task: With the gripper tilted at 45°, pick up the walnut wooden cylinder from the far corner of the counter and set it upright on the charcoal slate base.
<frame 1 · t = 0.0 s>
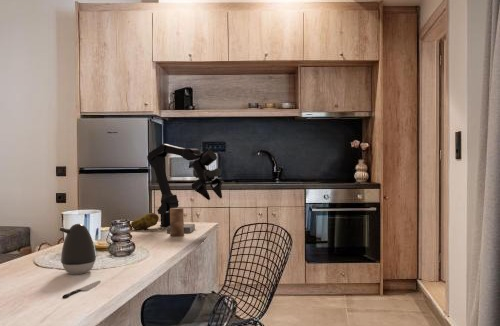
hand: (215, 198, 231), 15 cm above the table, tool tilted 35°, fingers open, 9 cm apart
pump dispenser: (78, 273, 151), on the table
green bumpy oblong piece: (145, 229, 237), on the table
chef's knife: (87, 290, 132), on the table
walnut cylinder: (177, 235, 218), on the table
slate base: (181, 230, 230), on the table
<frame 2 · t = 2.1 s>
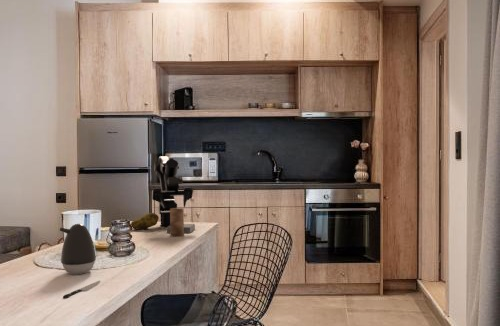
hand: (174, 207, 223), 12 cm above the table, tool tilted 45°, fingers open, 9 cm apart
nothing on the table moved.
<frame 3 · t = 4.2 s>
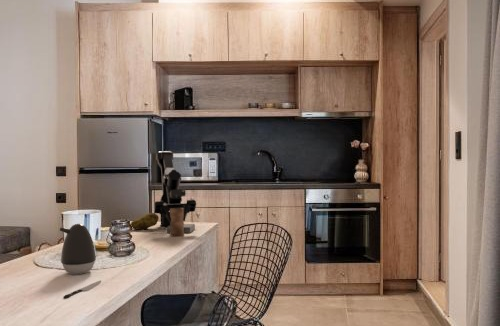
hand: (177, 221, 216), 7 cm above the table, tool tilted 45°, fingers closed on walnut cylinder, 6 cm apart
walnut cylinder: (177, 235, 218), on the table, touching gripper
everything else where it was.
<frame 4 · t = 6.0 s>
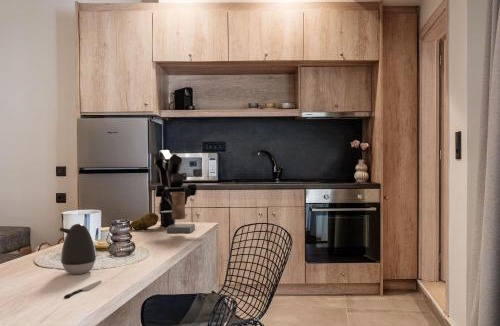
hand: (178, 204, 220), 14 cm above the table, tool tilted 45°, fingers closed on walnut cylinder, 6 cm apart
walnut cylinder: (178, 218, 221), point 7 cm above the table, touching gripper
everything else where it was.
when the fingers open (10 cm above the table, at t = 8.0 s): walnut cylinder drops 1 cm, resting on slate base.
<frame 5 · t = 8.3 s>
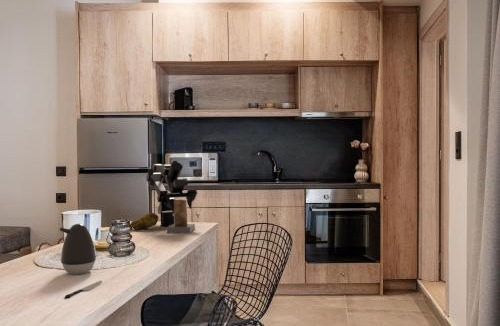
hand: (181, 208, 229), 11 cm above the table, tool tilted 45°, fingers open, 9 cm apart
walnut cylinder: (181, 225, 230), point 3 cm above the table, touching slate base
everything else where it was.
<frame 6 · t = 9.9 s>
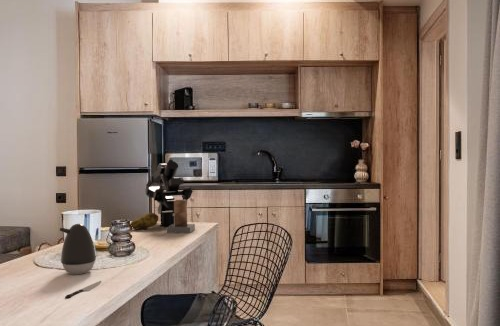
hand: (177, 207, 234), 11 cm above the table, tool tilted 45°, fingers open, 9 cm apart
nothing on the table moved.
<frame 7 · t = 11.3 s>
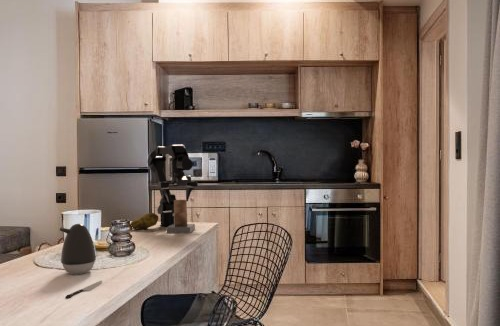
hand: (178, 201, 238), 13 cm above the table, tool pointing down, fingers open, 9 cm apart
nothing on the table moved.
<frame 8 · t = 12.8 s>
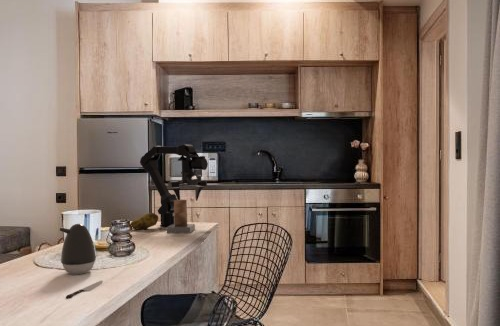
hand: (188, 201, 242), 13 cm above the table, tool pointing down, fingers open, 9 cm apart
nothing on the table moved.
at the end: walnut cylinder 0.1 cm off-centre on the slate base, point 2.6 cm above the slate base's base; walnut cylinder tilted 1°; walnut cylinder touching slate base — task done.
